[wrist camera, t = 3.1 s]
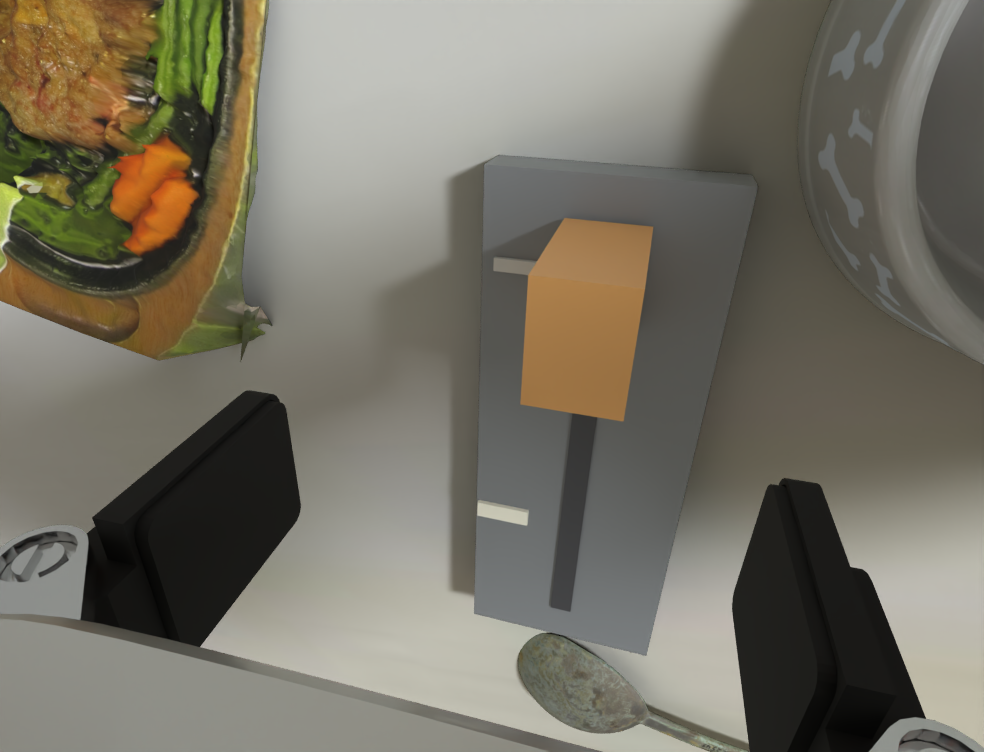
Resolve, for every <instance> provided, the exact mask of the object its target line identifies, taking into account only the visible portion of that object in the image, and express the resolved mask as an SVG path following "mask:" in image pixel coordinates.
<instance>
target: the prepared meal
mask: <svg viewBox="0 0 984 752" xmlns="http://www.w3.org/2000/svg"><path fill="white" fill-rule="evenodd" d="M268 9H269V0H0V301H2V302H5V303H7V304H10V305H12V306H15V307H17V308H19V309H22V310H25V311H27V312H30V313H32V314H35V315H37V316H40V317H42V318H45V319H47V320H50V321H53V322H55V323H58V324H60V325H63V326H65V327H68V328H70V329H73V330H75V331H78V332H80V333H83V334H86V335H89V336H92V337H94V338H97V339H100V340H103V341H106V342H108V343H111V344H114V345H117V346H120V347H122V348H125V349H128V350H131V351H134V352H136V353H139V354H142V355H145V356H148V357H150V358H153V359H156V360H164V359H169V358H174V357H179V356H184V355H190V354H195V353H200V352H205V351H210V350H215V349H219V348H223V347H227V346H231V345H235V344H239V343H242V349H241V360H242V357H243V354H244V351H245V349H246V346H247V343H248V341H251V340H254V339H255V338H256V337H258V336H260V335H264V334H265V332H263V331H262V330H261V329H258V328H257V327H258V325H260V324H262V323H265V324H269V325H271V323H270V321H269V320H268V318H267V317H266V315H265V313H264V312H263V310H262V308H261V307H250V306H248V305H247V304H245V301H244V293H243V285H242V278H241V275H242V264H243V253H244V242H245V231H246V221H247V217H248V212H249V209H250V206H251V204H252V200H253V197H254V194H255V177H256V174H257V170H258V159H257V97H258V89H259V80H260V72H261V65H262V58H263V51H264V43H265V33H266V23H267V18H268ZM271 326H272V325H271ZM240 363H241V362H240Z"/></svg>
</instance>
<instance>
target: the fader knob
mask: <svg viewBox="0 0 984 752" xmlns="http://www.w3.org/2000/svg"><path fill="white" fill-rule="evenodd" d="M652 233H653V227H652V226H642V225H632V224H621V223H611V222H601V221H591V220H581V219H570V218H564V220H563V221H562V223H561V224H560V226H559V228H558V229H557V231H556V232H555V234H554V235H553V237H552V239H551V240H550V242H549V243H548V245H547V246H546V248H545V250H544V251H543V253H542V254H541V256H540V257H539V259H538V261H537V262H536V264H535V265H534V267H533V268H532V270H531V272H530V273H529V275H528V288H527V304H526V321H525V337H524V353H523V369H522V385H521V401H520V404H521V405H527V406H533V407H539V408H545V409H551V410H557V411H563V412H569V413H575V414H581V415H587V416H593V417H599V418H605V419H611V420H617V421H624V415H625V409H626V403H627V397H628V391H629V384H630V378H631V372H632V366H633V360H634V354H635V347H636V341H637V335H638V329H639V323H640V317H641V311H642V304H643V298H644V292H645V285H646V278H647V271H648V263H649V256H650V248H651V241H652Z"/></svg>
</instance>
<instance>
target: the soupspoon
mask: <svg viewBox="0 0 984 752" xmlns="http://www.w3.org/2000/svg"><path fill="white" fill-rule="evenodd" d="M518 667H519V672H520V675H521V677H522V680H523V682H524V684H525V685H526V687H527V689H528V690H529V692H530V694H531V695H532V696H533V698H534V699H535V700H536V701H537V702H538V703H539V705H540V706H541V707H542V708H544V709H545V710H546V711H547V712H548V713H549V714H551V715H552V716H553V717H555V718H556V719H558V720H559V721H561V722H563V723H564V724H566V725H568V726H571V727H573V728H576V729H579V730H582V731H586V732H590V733H615V732H620V731H624V730H627V729H629V728H632V727H634V726H636V725H638V724H643V725H645V726H648V727H650V728H652V729H655V730H657V731H659V732H662V733H664V734H667V735H669V736H672V737H674V738H676V739H679V740H681V741H684V742H686V743H688V744H691V745H693V746H696V747H699V748H702V749H704V750H707V751H710V752H749V751H746V750H743V749H740V748H738V747H735V746H732V745H729V744H726V743H724V742H721V741H718V740H716V739H713V738H710V737H708V736H705V735H703V734H700V733H698V732H696V731H693V730H691V729H689V728H686V727H684V726H682V725H679V724H677V723H675V722H673V721H671V720H669V719H666V718H664V717H662V716H660V715H657V714H655V713H653V712H651V711H649V710H648V708H647V706H646V704H645V701H644V699H643V698H642V697H641V695H640V694H639V693H638V692H637V690H636V689H635V688H634V687H633V686H632V685H630V684H629V683H628V682H627V681H626V680H625V679H624V678H623V677H622V676H621V675H620V674H619V673H618V672H617V671H616V670H615V669H613V668H612V667H611V666H609V665H607V664H606V663H605V662H604V661H603V660H601V659H600V658H598V657H596V656H595V655H592V654H591V653H590V652H587V651H586V650H585V649H583V648H581V647H579V646H578V645H576V644H575V643H573V642H571V641H569V640H568V639H566V638H564V637H562V636H558V635H553V634H547V633H542V634H538V635H536V636H534V637H533V638H531V639H530V640H529V641H528V642H527V643H526V644H525V645H524V646H523V648H522V649H521V651H520V653H519V658H518Z"/></svg>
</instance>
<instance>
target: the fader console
mask: <svg viewBox="0 0 984 752" xmlns="http://www.w3.org/2000/svg"><path fill="white" fill-rule="evenodd" d="M757 190H758V185H757V184H756V182H755V180H754V178H753V176H752V175H749V174H736V173H723V172H710V171H697V170H685V169H672V168H659V167H646V166H633V165H621V164H608V163H595V162H582V161H569V160H557V159H544V158H531V157H518V156H505V155H498V156H496V157H495V158H493V159H492V160H490V161H489V162H487V163H485V164H484V197H483V242H482V286H481V331H480V375H479V420H478V464H477V509H476V554H475V598H474V614H478V615H482V616H486V617H490V618H494V619H498V620H502V621H506V622H510V623H514V624H518V625H523V626H527V627H531V628H535V629H539V630H543V631H547V632H551V633H555V634H559V635H563V636H568V637H572V638H576V639H580V640H584V641H588V642H592V643H596V644H600V645H604V646H608V647H612V648H617V649H621V650H625V651H629V652H633V653H637V654H641V655H645V656H646V655H647V651H648V646H649V642H650V638H651V634H652V630H653V625H654V621H655V617H656V613H657V609H658V604H659V600H660V596H661V592H662V588H663V584H664V579H665V575H666V571H667V567H668V563H669V558H670V554H671V550H672V546H673V542H674V537H675V533H676V529H677V525H678V521H679V516H680V512H681V508H682V504H683V500H684V496H685V491H686V487H687V483H688V479H689V475H690V470H691V466H692V462H693V458H694V454H695V449H696V445H697V441H698V437H699V433H700V428H701V424H702V420H703V416H704V412H705V408H706V403H707V399H708V395H709V391H710V387H711V382H712V378H713V374H714V370H715V366H716V361H717V357H718V353H719V349H720V345H721V341H722V336H723V332H724V328H725V324H726V320H727V315H728V311H729V307H730V303H731V299H732V294H733V290H734V286H735V282H736V278H737V273H738V269H739V265H740V261H741V257H742V253H743V248H744V244H745V240H746V236H747V232H748V227H749V223H750V219H751V215H752V211H753V206H754V202H755V198H756V194H757ZM564 218H570V219H581V220H591V221H601V222H611V223H621V224H632V225H642V226H652V227H653V233H652V241H651V248H650V256H649V263H648V271H647V278H646V285H645V292H644V298H643V304H642V311H641V317H640V323H639V329H638V335H637V341H636V347H635V354H634V360H633V366H632V372H631V378H630V384H629V391H628V397H627V403H626V409H625V415H624V421H617V420H611V419H605V418H599V417H593V416H587V415H581V414H575V413H569V412H563V411H557V410H551V409H545V408H539V407H533V406H527V405H521V404H520V401H521V385H522V369H523V353H524V337H525V321H526V304H527V288H528V275H529V273H530V272H531V270H532V268H533V267H534V265H535V264H536V262H537V261H538V259H539V257H540V256H541V254H542V253H543V251H544V250H545V248H546V246H547V245H548V243H549V242H550V240H551V239H552V237H553V235H554V234H555V232H556V231H557V229H558V228H559V226H560V224H561V223H562V221H563V220H564Z"/></svg>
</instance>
